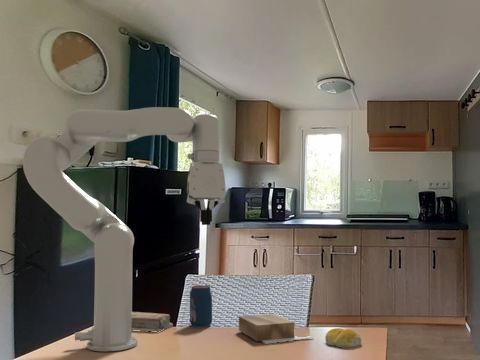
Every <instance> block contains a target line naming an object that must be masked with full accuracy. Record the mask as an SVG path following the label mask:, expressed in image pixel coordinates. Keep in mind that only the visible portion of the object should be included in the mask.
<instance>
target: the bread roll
mask: <svg viewBox="0 0 480 360" xmlns="http://www.w3.org/2000/svg"><path fill="white" fill-rule="evenodd" d="M325 334H326V335H325V342H326V344H327V345H329V346H332V347H338V348H344V349H350V348H351V349H352V348H356V347H357V348H358V347H359V346H361V344H362V338H361V336H360V334H358V333H357V332H356V331H355V330H353V329H350V328H346V329H343V328H341V327H337V328H332V329H330V330H328V331H327V333H325Z"/></svg>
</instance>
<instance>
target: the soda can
mask: <svg viewBox="0 0 480 360" xmlns="http://www.w3.org/2000/svg"><path fill="white" fill-rule="evenodd" d="M212 322H213V292H212V290H211V286H210V285H193V286H191V289H190V292H189V323H190V325H191V326H192V327H193V328H203V329H204V328H208V327H210V326H211V324H212Z"/></svg>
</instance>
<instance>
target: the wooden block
mask: <svg viewBox="0 0 480 360" xmlns="http://www.w3.org/2000/svg"><path fill="white" fill-rule="evenodd" d="M294 329H295V322H294V321H292V320H290V319H287V318H284V317H282V316H279V315H277V314H275V313H265V314H253V315H241V316H238V331H239V332H241V333H243V334H244V335H246V336H248V337H249V338H251V339H252V340H255V341H256V342H262V341H264V340H274V339H284V338H294V337H295V331H294Z"/></svg>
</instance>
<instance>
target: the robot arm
mask: <svg viewBox="0 0 480 360" xmlns="http://www.w3.org/2000/svg"><path fill="white" fill-rule="evenodd" d="M64 126H65V131H64V132H63V133H61V134H60V135H59V136H58V137H57V138H54V137H51V136H46V135H45V136H44V135H41V136H37V137H35V138H34V139H32V140H31V141H30V142H29V143H28V144H27V146H26V148H25V151H24V153H23V156H22V157H23V158H22V167H23V173H24V175H25V178H26V179H27V182H28V184H29V186H31V189H32V190H34V191H35V193H36V194H37V195H38V196H39V197H40V198H41V199H42V200H43V201H44V202H45V203H47V204H48V205H49V206H50V207H51V208H52V209H53V210H54V211H55V212H56V213H57V214H58V215H59V216H60V217H62V219H64V221H66V223H68V225H69V227H71V228H72V229H74V230H75V231H79V232H81V233H82V234H84V235H85V236H86V237H87V238H88V240H89V241H91V242H92V243H94V245H93V246H94V247H93V248H94V249H93V250H94V298H93V299H94V302H93V303H94V305H93V326H92V327H91V330H87V331H86V332H85V331H84V332H83V331H80V332H79V331H77V332H74V341H79V342H84V341H88V342H86V347H87V349H88V350H90V351H92V352H93V351H94V352H104V353H105V352H119V351H125V350H128V349H131V348H135V347H136V346H137V345H138V339H137V338H136V337H134V336H132V332H133V331H132V312H133V251H134V250H133V249H134V245H135V236H134V233H133V231H132V230H131V228H129V226H127V224H125V223H124V222H123V221H122V220H121V219H119V217H117V216H116V214H114V213H113V212H112V211H111V210H109V208H107V207H106V206H105V205H104V204H103V203H102V202H100V201H99V200H98V199H96V198H94V197H92V196H90V195H89V194H88V193H87V192H85V190H83V189H82V188H81V187H80V186H79V185H77V184H76V182H74V181H73V180H72V179H71V178H70V177H69V176H68V175H67V174H65V172H64V171H66V170H67V169H68V168H70V167H71V166H72V165H73V164H74V163H76V162H77V161H78V160H79V159H81V157H83V156H84V155H85V154H86V153H87V152H88V151H89V150H91V149H92V148H93V147H94V146H95V145H96V144H97V143H98V142H113V143H114V142H115V143H116V142H118V143H127V142H132V141H134V140H137V139H139V138H142V137H146V136H166V137H167V138H168V140H169V141H171V142H173V143H179V144H180V143H188V142H189V143H190V142H192V152H191V153H188V154H187V159H188V160H191V162H190V163H189V169H188V175H187V186H186V194H187V197H186V198H187V199H186V203H188V204H191V205H195V206H196V208H197V209H198V210H199V222H200V223H201V225H202V226H210V225H211V223H212V222H213V210H214V209H215V208H216V207H217V206H218V205H221V204H224V203H225V202H226V200H225V197H226V194H227V193H226V180H225V179H226V177H225V170H224V165H223V163H222V162H220V120H219V118H218V117H217V116H216V115H214V114H209V113H208V114H207V113H203V114H202V113H201V114H197V115H196V116H194V117H193V115H192V114H191V113H190V112H189V111H188V110H187V109H183V108H180V107H167V106H165V107H164V106H163V107H162V106H161V107H160V106H155V107H153V106H150V107H141V108H136V109H128V110H116V109H115V110H112V109H110V110H107V109H101V110H100V109H77V110H74V111H71V112H70V113H69V114H68V115H67V117H66V120H65V125H64ZM205 200H207V203H206V204H207V205H206V204H205Z"/></svg>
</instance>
